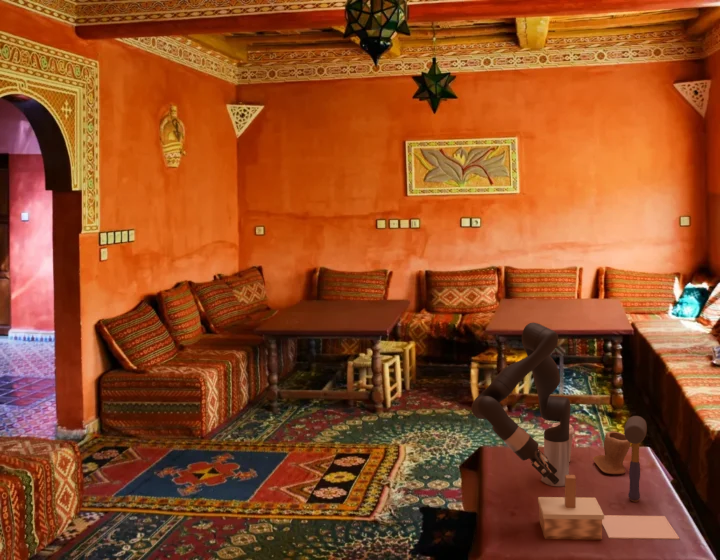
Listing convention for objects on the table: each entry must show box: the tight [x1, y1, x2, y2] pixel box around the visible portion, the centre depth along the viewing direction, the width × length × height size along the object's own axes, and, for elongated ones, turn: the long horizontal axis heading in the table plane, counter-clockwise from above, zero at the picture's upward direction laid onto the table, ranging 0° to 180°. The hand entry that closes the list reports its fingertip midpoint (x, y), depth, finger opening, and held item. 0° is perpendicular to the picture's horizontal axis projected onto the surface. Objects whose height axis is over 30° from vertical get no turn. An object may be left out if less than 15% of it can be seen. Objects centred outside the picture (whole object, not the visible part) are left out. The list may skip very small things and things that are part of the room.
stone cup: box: [592, 431, 631, 475], centre depth 322 cm, size 15×12×15 cm
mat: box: [602, 514, 680, 540], centre depth 271 cm, size 22×17×1 cm
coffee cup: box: [551, 422, 575, 463], centre depth 333 cm, size 10×10×15 cm
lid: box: [537, 474, 605, 520], centre depth 269 cm, size 19×14×12 cm
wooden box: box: [538, 508, 603, 541], centre depth 270 cm, size 18×13×7 cm
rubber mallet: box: [623, 415, 648, 503], centre depth 291 cm, size 12×8×30 cm, turn 158°
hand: (556, 477), depth 269 cm, fingers open, 8 cm apart
